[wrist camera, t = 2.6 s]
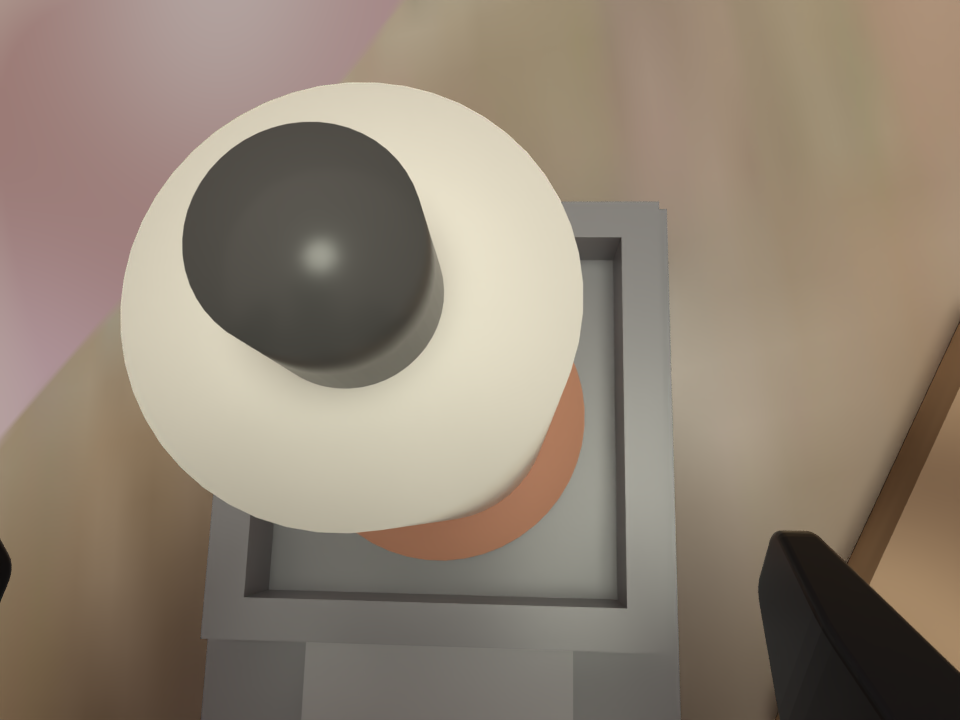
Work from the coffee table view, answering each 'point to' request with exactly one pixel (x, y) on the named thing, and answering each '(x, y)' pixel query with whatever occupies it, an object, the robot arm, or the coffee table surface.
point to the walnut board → (922, 519)
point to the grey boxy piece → (487, 560)
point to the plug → (363, 321)
